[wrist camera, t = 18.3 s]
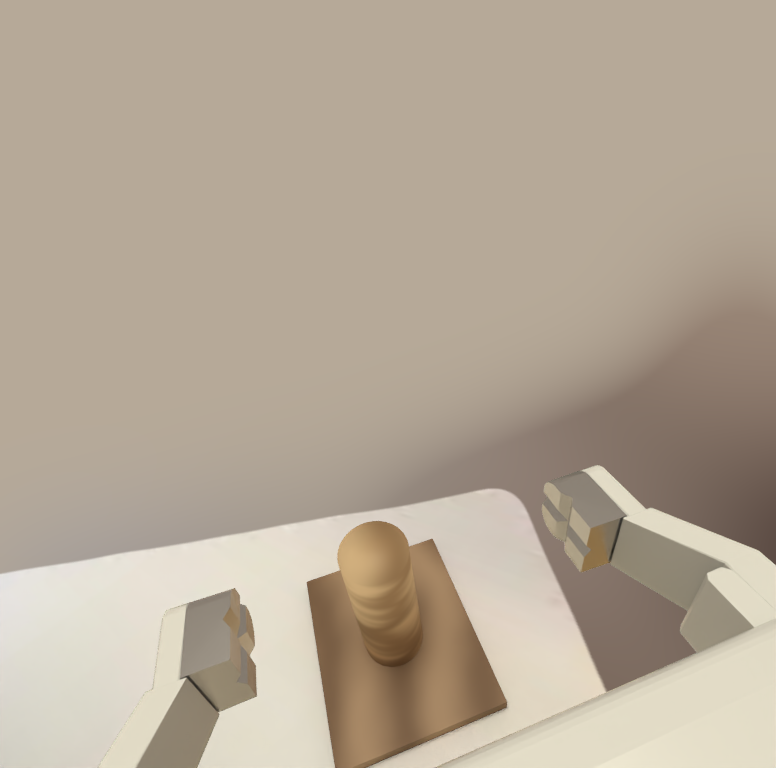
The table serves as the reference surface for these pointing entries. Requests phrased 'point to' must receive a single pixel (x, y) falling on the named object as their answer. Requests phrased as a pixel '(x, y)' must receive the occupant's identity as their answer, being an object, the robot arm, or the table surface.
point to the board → (400, 670)
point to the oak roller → (382, 591)
